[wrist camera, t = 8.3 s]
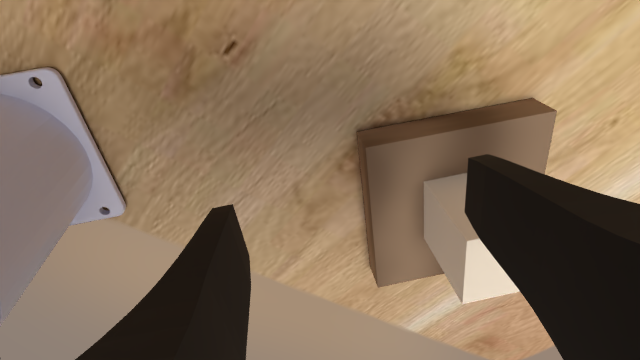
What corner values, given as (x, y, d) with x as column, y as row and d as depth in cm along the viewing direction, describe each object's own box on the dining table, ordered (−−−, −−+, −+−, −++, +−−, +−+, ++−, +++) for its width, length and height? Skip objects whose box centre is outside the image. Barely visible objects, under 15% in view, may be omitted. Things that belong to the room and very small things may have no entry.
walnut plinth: (369, 265, 26) (377, 287, 24) (356, 131, 21) (365, 147, 19) (511, 236, 27) (528, 255, 25) (532, 98, 21) (556, 110, 20)
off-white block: (423, 238, 23) (462, 304, 19) (423, 181, 21) (467, 241, 16) (488, 224, 23) (541, 286, 19) (495, 166, 21) (556, 222, 17)
